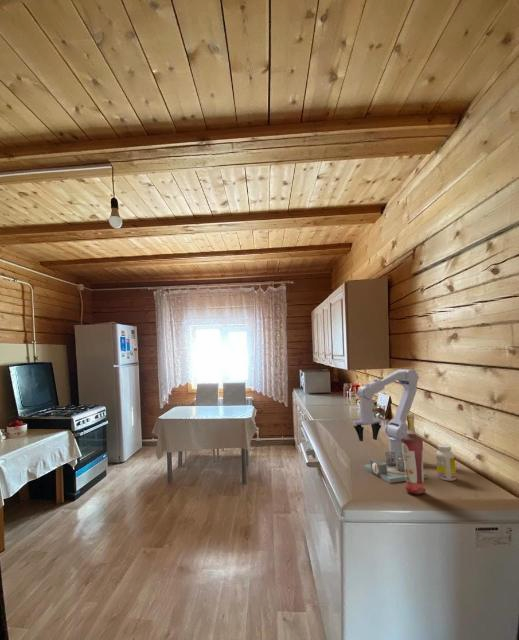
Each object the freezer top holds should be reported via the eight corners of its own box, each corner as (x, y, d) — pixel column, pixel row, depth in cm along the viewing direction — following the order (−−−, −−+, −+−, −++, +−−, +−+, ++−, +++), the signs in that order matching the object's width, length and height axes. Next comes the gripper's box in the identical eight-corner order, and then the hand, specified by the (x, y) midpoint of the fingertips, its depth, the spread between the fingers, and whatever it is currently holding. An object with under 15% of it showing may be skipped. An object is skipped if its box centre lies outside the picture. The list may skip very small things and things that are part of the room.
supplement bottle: (454, 476, 138) (451, 444, 140) (458, 482, 132) (455, 448, 133) (436, 474, 140) (434, 443, 142) (439, 480, 134) (436, 447, 136)
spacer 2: (404, 468, 143) (403, 455, 144) (411, 471, 139) (410, 458, 139) (395, 469, 142) (394, 457, 142) (402, 472, 138) (401, 460, 138)
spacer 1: (389, 462, 151) (389, 450, 151) (398, 464, 147) (397, 453, 148) (383, 464, 149) (383, 452, 149) (392, 466, 145) (391, 454, 145)
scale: (398, 464, 155) (397, 452, 155) (427, 477, 137) (426, 464, 138) (363, 468, 150) (362, 456, 150) (388, 483, 132) (387, 469, 133)
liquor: (431, 495, 120) (425, 415, 123) (413, 497, 119) (407, 417, 122) (417, 487, 127) (412, 412, 131) (400, 489, 126) (395, 413, 129)
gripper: (374, 409, 168) (376, 436, 166) (348, 411, 164) (350, 439, 163) (383, 411, 161) (385, 440, 160) (356, 413, 157) (358, 443, 156)
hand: (368, 440), depth 161 cm, fingers open, 7 cm apart
